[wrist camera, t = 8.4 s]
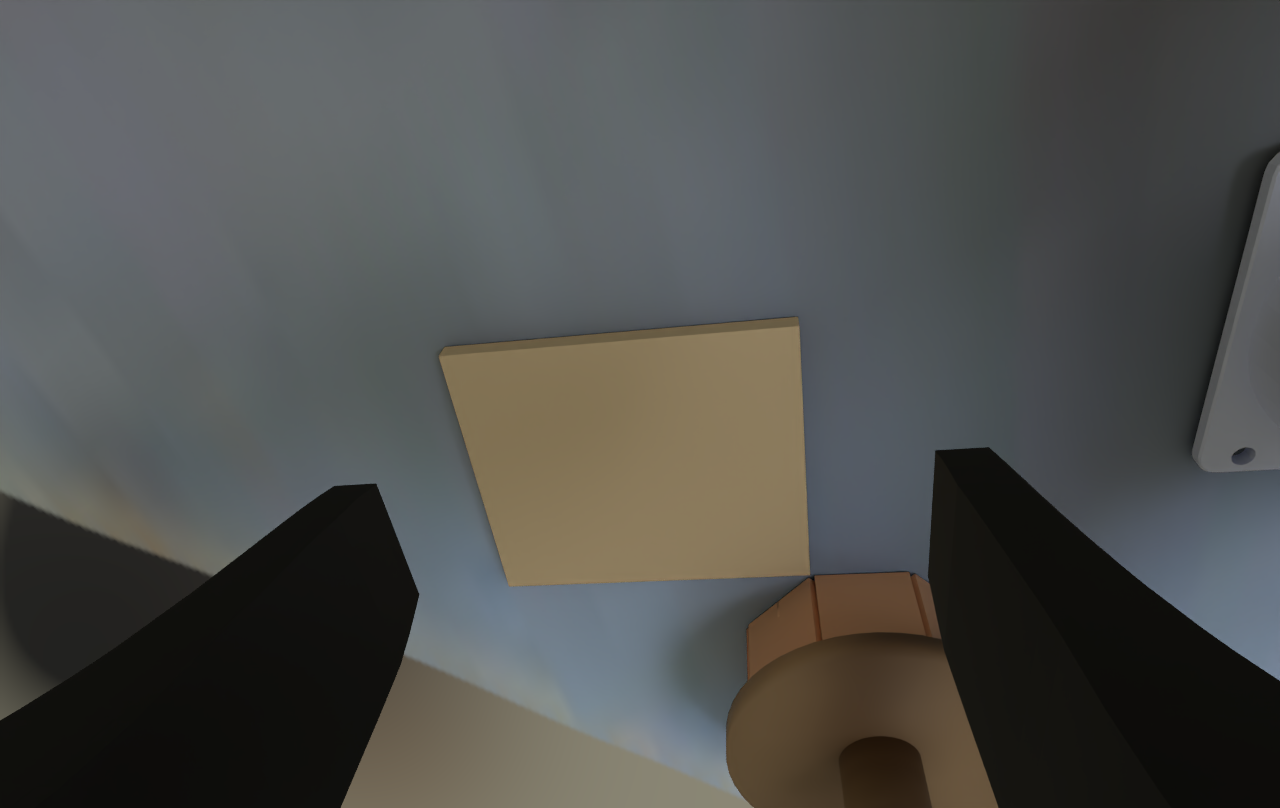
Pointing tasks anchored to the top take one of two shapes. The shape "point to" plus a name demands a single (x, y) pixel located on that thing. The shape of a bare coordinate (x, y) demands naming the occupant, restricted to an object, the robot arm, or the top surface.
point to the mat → (639, 452)
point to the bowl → (841, 613)
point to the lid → (856, 729)
